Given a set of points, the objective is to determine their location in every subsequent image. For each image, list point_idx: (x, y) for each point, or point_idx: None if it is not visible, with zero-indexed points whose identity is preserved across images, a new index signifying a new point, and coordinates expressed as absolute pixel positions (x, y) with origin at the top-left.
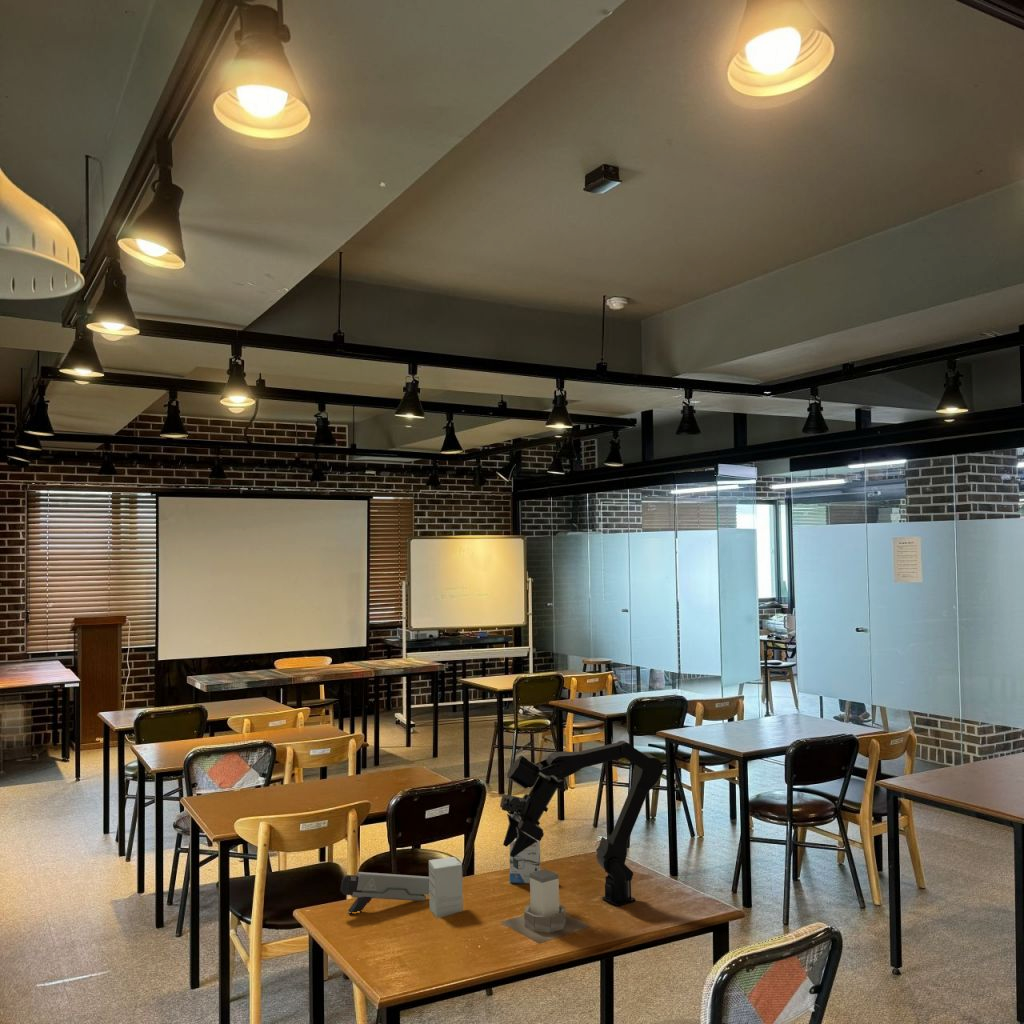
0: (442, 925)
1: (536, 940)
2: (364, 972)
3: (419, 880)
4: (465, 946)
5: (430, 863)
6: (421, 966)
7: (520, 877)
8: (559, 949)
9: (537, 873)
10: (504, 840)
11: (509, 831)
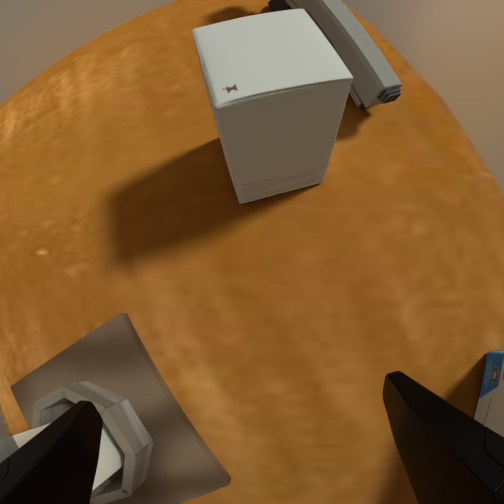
0: (172, 155)
1: (20, 385)
2: (34, 82)
3: (359, 59)
4: (47, 220)
5: (268, 14)
6: (12, 151)
7: (490, 387)
8: (17, 424)
9: None
10: (413, 387)
11: (451, 465)
